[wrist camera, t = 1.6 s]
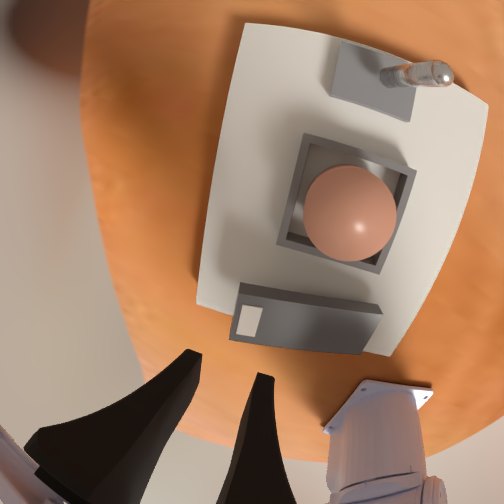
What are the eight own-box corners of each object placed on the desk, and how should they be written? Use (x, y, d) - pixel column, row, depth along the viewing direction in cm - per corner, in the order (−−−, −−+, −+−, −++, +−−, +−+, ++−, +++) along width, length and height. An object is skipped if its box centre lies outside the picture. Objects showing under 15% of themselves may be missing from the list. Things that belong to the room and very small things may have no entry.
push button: (370, 253, 13) (377, 271, 11) (296, 231, 13) (292, 246, 12) (395, 179, 11) (408, 186, 9) (316, 153, 12) (316, 155, 10)
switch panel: (386, 342, 17) (392, 368, 15) (204, 292, 19) (188, 313, 17) (476, 106, 10) (499, 104, 7) (252, 31, 11) (239, 14, 9)
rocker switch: (356, 343, 16) (360, 355, 15) (230, 327, 15) (228, 340, 14) (377, 304, 14) (384, 315, 13) (240, 281, 14) (238, 294, 13)
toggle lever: (389, 92, 9) (458, 92, 6) (372, 83, 9) (439, 78, 5) (393, 74, 9) (460, 68, 5) (375, 65, 9) (441, 54, 5)
